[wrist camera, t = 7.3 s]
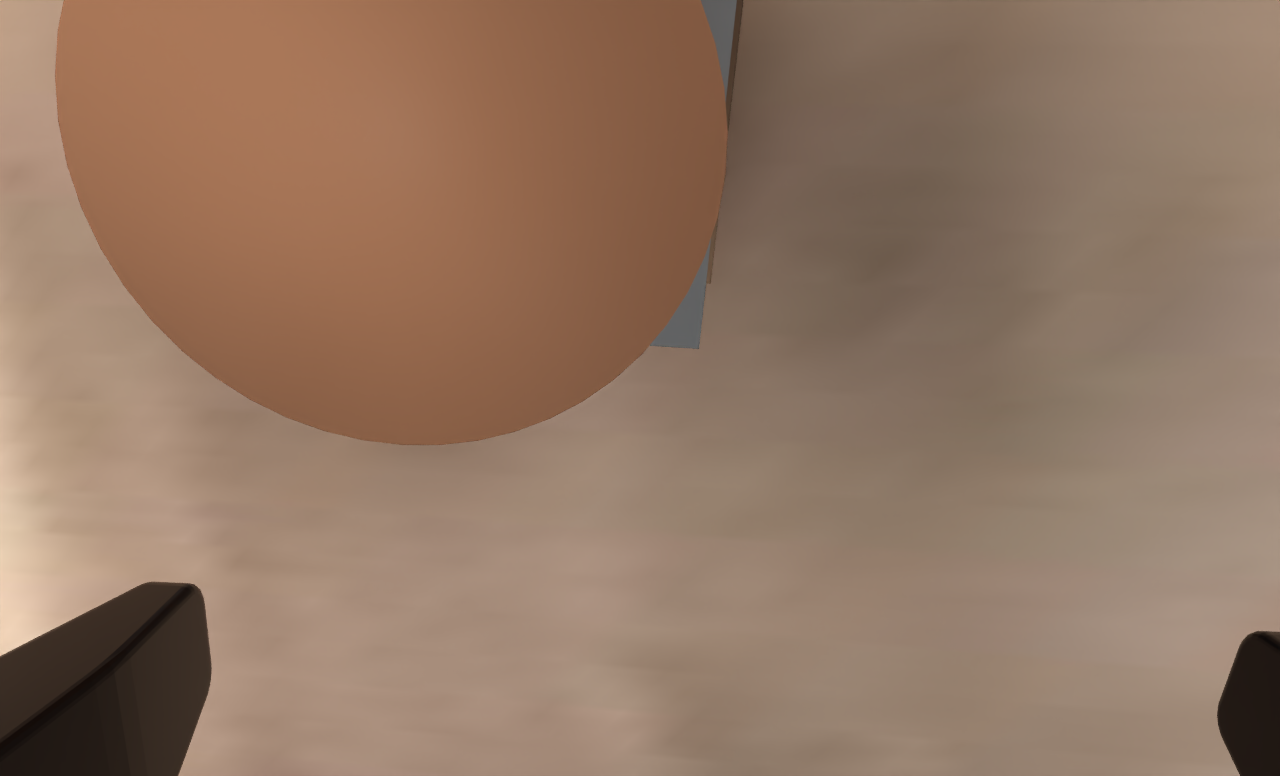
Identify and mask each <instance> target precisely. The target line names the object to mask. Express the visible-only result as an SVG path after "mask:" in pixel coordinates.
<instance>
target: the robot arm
mask: <svg viewBox="0 0 1280 776" xmlns="http://www.w3.org/2000/svg"><path fill="white" fill-rule="evenodd" d="M211 669H212V667H211V656H210V647H209V638H208V629H207V620H206V611H205V603H204V598H203V595H202V593H201V590H200V589H199V588H198V587H197V586H195V585H194V584H190V583H169V582H147V583H144V584H141V585H139V586H137V587H135V588H133V589H131V590H130V591H128V592H126V593H124V594H122V595H120V596H118V597H116V598H114V599H112V600H110V601H108V602H106V603H104V604H102V605H100V606H98V607H96V608H94V609H92V610H90V611H88V612H86V613H84V614H82V615H80V616H78V617H76V618H74V619H72V620H71V621H69V622H67V623H65V624H63V625H61V626H59V627H57V628H55V629H53V630H51V631H49V632H47V633H45V634H43V635H41V636H39V637H37V638H35V639H33V640H31V641H29V642H27V643H25V644H23V645H21V646H19V647H17V648H15V649H14V650H12V651H10V652H8V653H6V654H4V655H2V656H0V776H178V775H179V772H180V770H181V767H182V764H183V761H184V758H185V756H186V753H187V750H188V747H189V745H190V742H191V739H192V736H193V734H194V731H195V728H196V725H197V723H198V720H199V717H200V714H201V712H202V709H203V706H204V703H205V701H206V698H207V695H208V691H209V687H210V681H211ZM1217 718H1218V726H1219V730H1220V733H1221V736H1222V738H1223V741H1224V743H1225V745H1226V747H1227V749H1228V751H1229V753H1230V755H1231V757H1232V760H1233V762H1234V764H1235V766H1236V768H1237V770H1238V772H1239V774H1240V776H1280V632H1269V631H1256V632H1254V633H1251V634H1249V635H1248V636H1247V637H1246V638H1245V639H1244V640H1243V641H1242V642H1241V644H1240V646H1239V649H1238V652H1237V654H1236V657H1235V660H1234V663H1233V665H1232V668H1231V671H1230V674H1229V676H1228V679H1227V682H1226V685H1225V687H1224V690H1223V693H1222V696H1221V698H1220V701H1219V705H1218V712H1217Z"/></svg>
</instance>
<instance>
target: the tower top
mask: <svg viewBox="0 0 1280 776" xmlns="http://www.w3.org/2000/svg"><path fill="white" fill-rule="evenodd" d="M701 3H702V5H703V8H704V11H705V14H706V17H707V20H708V23H709V26H710V29H711V32H712V35H713V38H714V41H715V44H716V49H717V54H718V59H719V64H720V69H721V74H722V79H723V84H724V89H725V102H726V95H727V86H728V76H729V67H730V58H731V49H732V39H733V30H734V21H735V12H736V3H737V0H701ZM710 242H711V239H710ZM710 242H709V245H708V249H707V252H706V255H705V257H704V259H703V261H702V264H701V266H700V268H699V270H698V272H697V274H696V276H695V278H694V280H693V283H692V285H691V287H690V289H689V291H688V293H687V294H686V296H685V297H684V299H683V301H682V302H681V304H680V305H679V307H678V308H677V310H676V311H675V313H674V314H673V316H672V318H671V319H670V321H669V322H668V324H667V325H666V326H665V328H664V329H663V330H662V331H661V332H660V333H659V335H658V336H657V337H656V338H655V339H654V341H653V342H652V343H651V344H650V345H649V346H662V347H678V348H693V349H699V343H700V334H701V325H702V316H703V307H704V297H705V288H706V279H707V270H708V261H709V251H710Z"/></svg>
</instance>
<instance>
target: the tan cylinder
mask: <svg viewBox="0 0 1280 776" xmlns="http://www.w3.org/2000/svg"><path fill="white" fill-rule="evenodd" d="M55 82H56V95H57V109H58V122H59V127H60V132H61V137H62V142H63V146H64V151H65V156H66V161H67V166H68V169H69V172H70V175H71V178H72V181H73V184H74V187H75V190H76V193H77V196H78V199H79V202H80V205H81V208H82V210H83V212H84V214H85V216H86V218H87V221H88V223H89V225H90V227H91V229H92V231H93V233H94V235H95V237H96V239H97V242H98V244H99V246H100V248H101V250H102V251H103V253H104V255H105V256H106V258H107V259H108V261H109V262H110V264H111V266H112V267H113V269H114V270H115V272H116V274H117V275H118V277H119V278H120V280H121V282H122V283H123V285H124V286H125V288H126V289H127V290H128V291H129V293H130V294H131V295H132V296H133V298H134V299H135V300H136V301H137V303H138V304H139V305H140V306H141V308H142V309H143V310H144V311H145V313H146V314H147V315H148V316H149V318H150V319H151V320H152V321H153V322H154V323H155V324H156V325H157V326H158V327H159V328H160V329H161V330H162V331H163V332H164V333H165V334H166V335H167V336H168V337H169V338H170V339H171V340H172V341H173V342H174V343H175V344H176V345H177V346H178V347H179V348H180V349H181V350H182V351H183V352H184V353H185V354H187V355H188V356H189V357H190V358H192V359H193V360H194V361H195V362H197V363H198V364H199V365H200V366H202V367H203V368H204V369H205V370H207V371H208V372H209V373H210V374H212V375H213V376H214V377H215V378H217V379H219V380H220V381H222V382H223V383H225V384H226V385H228V386H230V387H231V388H233V389H234V390H236V391H238V392H239V393H241V394H242V395H244V396H245V397H247V398H249V399H250V400H252V401H254V402H256V403H258V404H260V405H262V406H264V407H266V408H269V409H271V410H273V411H275V412H277V413H279V414H281V415H283V416H285V417H287V418H290V419H293V420H295V421H298V422H301V423H304V424H306V425H309V426H312V427H315V428H318V429H320V430H323V431H327V432H331V433H335V434H339V435H344V436H348V437H352V438H356V439H360V440H366V441H375V442H383V443H391V444H400V445H443V444H452V443H461V442H469V441H478V440H482V439H486V438H491V437H495V436H499V435H503V434H507V433H511V432H515V431H518V430H521V429H523V428H526V427H529V426H531V425H534V424H537V423H539V422H542V421H545V420H547V419H550V418H552V417H554V416H556V415H558V414H560V413H561V412H563V411H565V410H567V409H569V408H571V407H573V406H575V405H577V404H579V403H581V402H582V401H584V400H585V399H587V398H588V397H590V396H591V395H593V394H594V393H595V392H597V391H598V390H600V389H601V388H603V387H604V386H606V385H607V384H608V383H610V382H611V381H613V380H614V379H615V378H616V377H617V376H618V375H620V374H621V373H622V372H623V371H624V370H625V369H626V368H627V367H628V366H629V365H631V364H632V363H633V362H634V361H635V360H636V359H637V358H638V357H639V356H640V355H642V353H643V352H644V351H645V350H646V349H647V348H648V346H649V345H650V344H651V343H652V342H653V341H654V339H655V338H656V337H657V336H658V335H659V333H660V332H661V331H662V330H663V329H664V328H665V326H666V325H667V324H668V322H669V321H670V319H671V318H672V316H673V314H674V313H675V311H676V310H677V308H678V307H679V305H680V304H681V302H682V301H683V299H684V297H685V296H686V294H687V293H688V291H689V289H690V287H691V285H692V283H693V280H694V278H695V276H696V274H697V272H698V270H699V268H700V266H701V264H702V261H703V259H704V257H705V255H706V252H707V249H708V245H709V242H710V239H711V236H712V233H713V230H714V227H715V224H716V221H717V218H718V213H719V207H720V202H721V197H722V191H723V186H724V180H725V173H726V155H727V136H728V130H727V116H726V102H725V89H724V84H723V79H722V74H721V69H720V64H719V59H718V54H717V49H716V44H715V41H714V38H713V35H712V32H711V29H710V26H709V23H708V20H707V17H706V14H705V11H704V8H703V5H702V3H701V0H64V2H63V7H62V12H61V17H60V22H59V27H58V36H57V53H56V69H55Z"/></svg>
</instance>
